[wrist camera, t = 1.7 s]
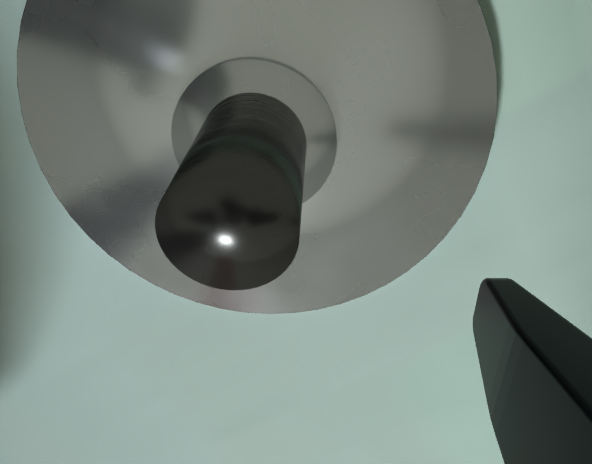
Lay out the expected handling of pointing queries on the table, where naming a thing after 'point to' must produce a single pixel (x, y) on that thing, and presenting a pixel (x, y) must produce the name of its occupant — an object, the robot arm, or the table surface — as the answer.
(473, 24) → the lid
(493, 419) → the robot arm
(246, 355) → the table surface
